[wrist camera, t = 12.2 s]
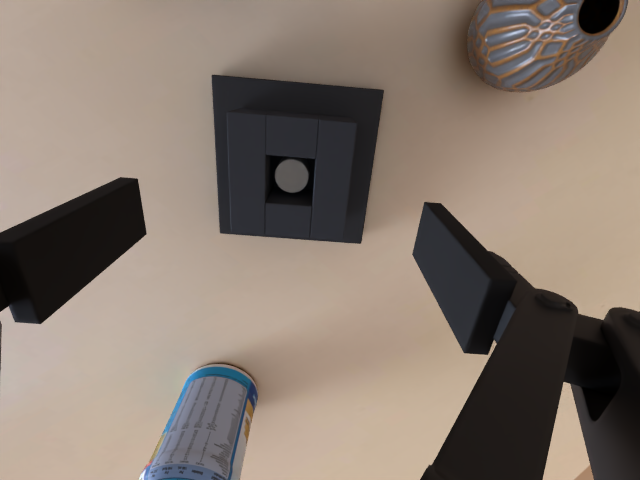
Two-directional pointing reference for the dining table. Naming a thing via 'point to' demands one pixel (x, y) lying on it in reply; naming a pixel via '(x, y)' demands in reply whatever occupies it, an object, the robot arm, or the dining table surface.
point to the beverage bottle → (206, 427)
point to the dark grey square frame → (293, 141)
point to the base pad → (301, 104)
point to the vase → (538, 39)
